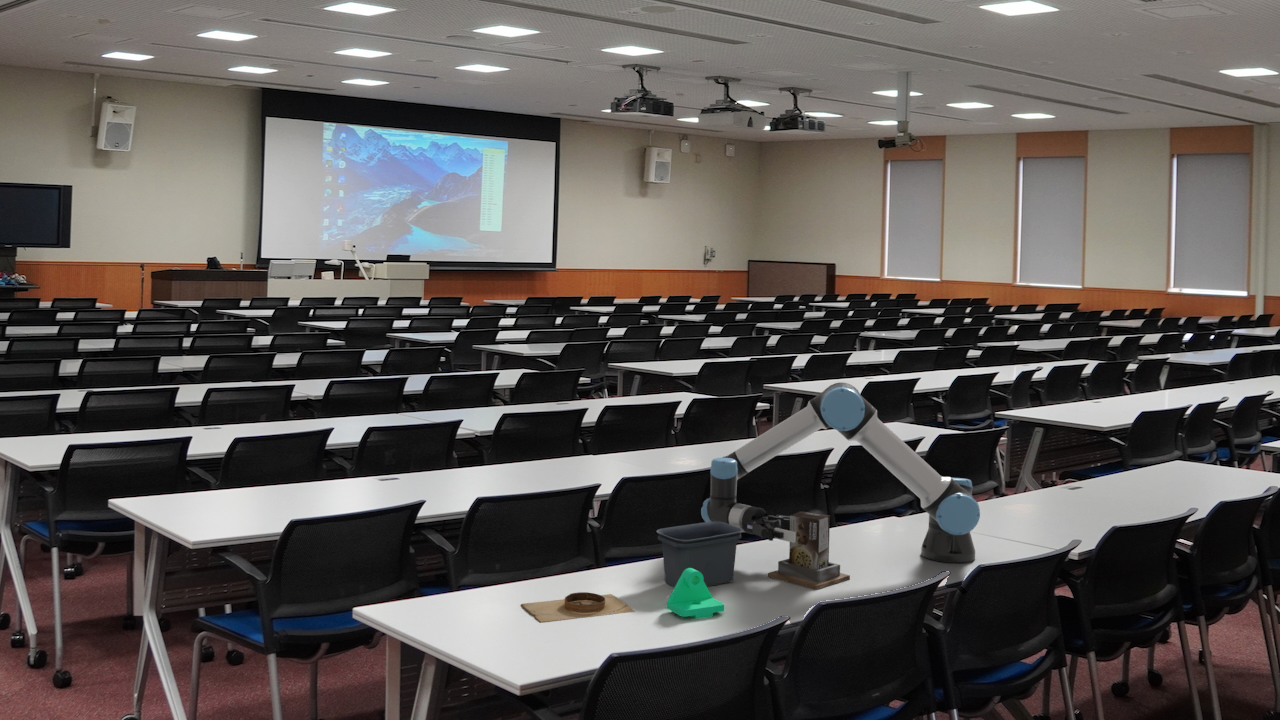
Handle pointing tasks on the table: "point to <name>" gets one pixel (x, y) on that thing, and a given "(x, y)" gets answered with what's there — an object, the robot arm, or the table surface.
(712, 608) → the camera mount
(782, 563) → the socket
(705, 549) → the storage bin
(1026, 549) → the table surface
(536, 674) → the table surface
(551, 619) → the board
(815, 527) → the coffee box
